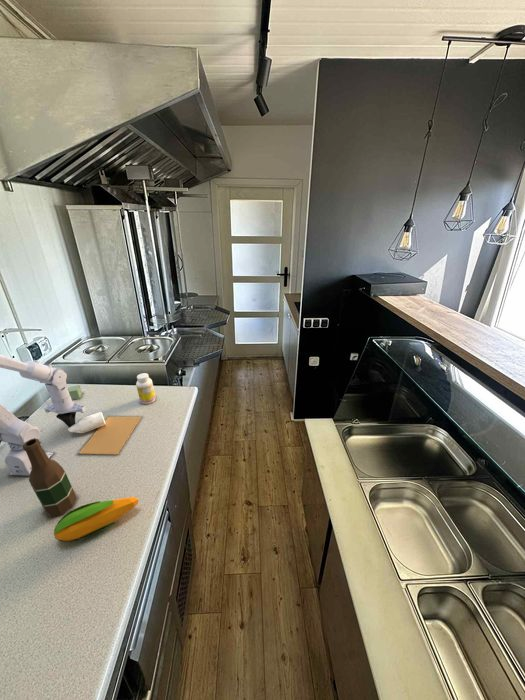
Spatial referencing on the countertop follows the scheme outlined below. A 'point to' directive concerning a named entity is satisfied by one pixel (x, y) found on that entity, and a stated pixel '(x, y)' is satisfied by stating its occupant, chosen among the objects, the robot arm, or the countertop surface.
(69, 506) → the beer bottle
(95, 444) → the mat
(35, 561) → the countertop surface
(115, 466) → the countertop surface
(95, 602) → the countertop surface
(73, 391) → the block
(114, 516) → the corn
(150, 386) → the supplement bottle
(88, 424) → the white radish
